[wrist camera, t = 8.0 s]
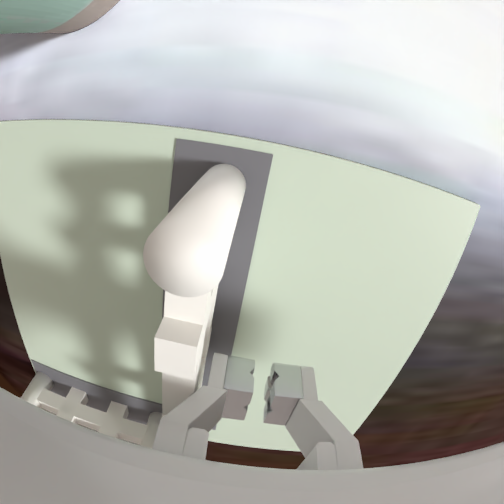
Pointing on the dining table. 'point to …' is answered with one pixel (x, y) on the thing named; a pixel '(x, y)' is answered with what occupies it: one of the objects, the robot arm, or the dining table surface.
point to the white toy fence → (191, 276)
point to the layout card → (236, 270)
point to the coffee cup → (50, 15)
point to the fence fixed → (91, 412)
